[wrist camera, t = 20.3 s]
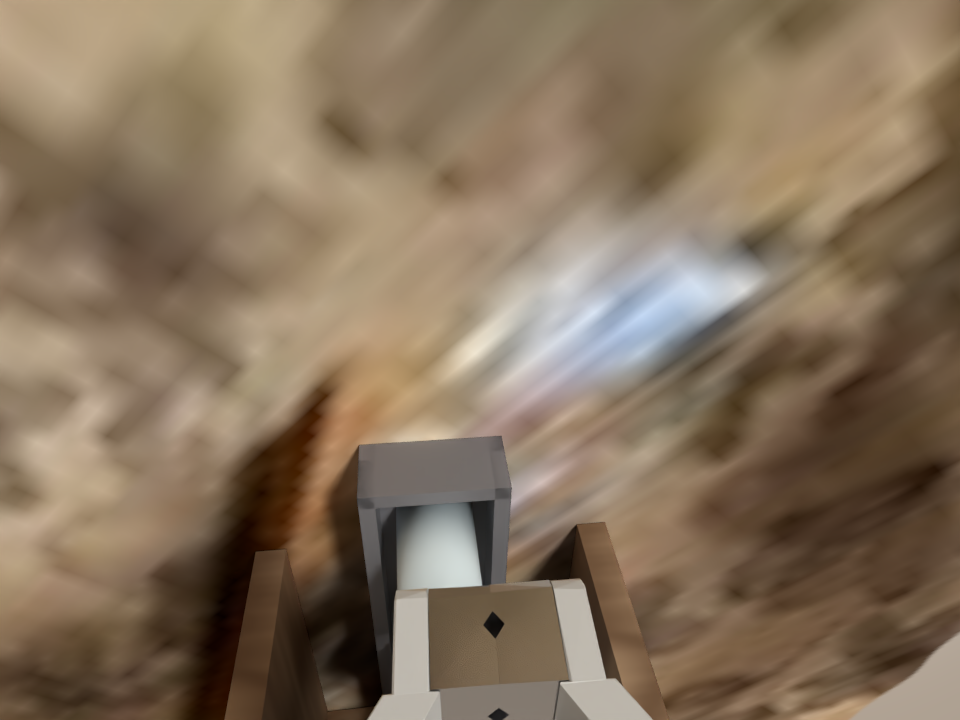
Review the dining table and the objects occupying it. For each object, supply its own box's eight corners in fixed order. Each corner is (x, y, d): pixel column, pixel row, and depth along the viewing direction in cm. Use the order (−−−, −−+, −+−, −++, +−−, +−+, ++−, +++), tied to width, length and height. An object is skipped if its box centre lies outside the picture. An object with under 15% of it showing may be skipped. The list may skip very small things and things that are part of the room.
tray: (501, 435, 32) (530, 583, 25) (490, 668, 44) (508, 808, 37) (359, 445, 31) (352, 599, 25) (387, 678, 43) (387, 822, 37)
